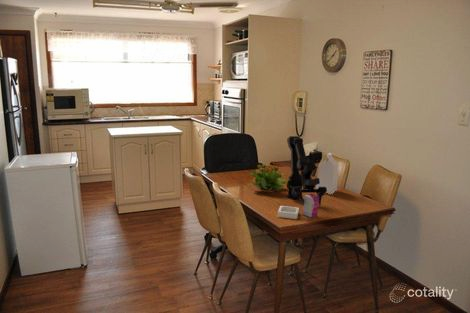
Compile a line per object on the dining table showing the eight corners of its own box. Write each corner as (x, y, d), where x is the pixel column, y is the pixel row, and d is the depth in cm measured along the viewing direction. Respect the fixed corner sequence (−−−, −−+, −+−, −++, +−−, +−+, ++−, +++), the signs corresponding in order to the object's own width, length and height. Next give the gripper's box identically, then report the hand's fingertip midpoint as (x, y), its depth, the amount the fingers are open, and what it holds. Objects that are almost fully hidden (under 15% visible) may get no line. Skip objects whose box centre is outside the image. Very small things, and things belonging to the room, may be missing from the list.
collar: (279, 210, 208) (280, 205, 208) (298, 212, 206) (298, 207, 205) (277, 216, 198) (277, 211, 198) (297, 219, 196) (297, 213, 195)
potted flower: (283, 197, 233) (284, 170, 229) (246, 194, 237) (247, 167, 234) (285, 187, 257) (287, 162, 253) (252, 184, 261) (253, 160, 258)
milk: (320, 187, 259) (323, 151, 254) (337, 190, 253) (340, 153, 248) (315, 191, 249) (318, 153, 244) (332, 194, 243) (335, 156, 238)
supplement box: (310, 218, 198) (312, 197, 196) (302, 214, 203) (303, 194, 200) (317, 216, 201) (319, 196, 199) (309, 213, 206) (311, 193, 204)
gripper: (294, 172, 200) (298, 198, 191) (327, 172, 202) (333, 198, 194) (289, 182, 209) (293, 207, 201) (321, 182, 212) (326, 207, 203)
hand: (311, 204), depth 199 cm, fingers open, 9 cm apart
